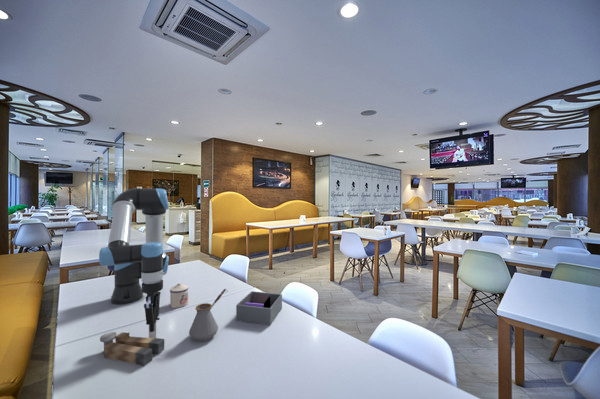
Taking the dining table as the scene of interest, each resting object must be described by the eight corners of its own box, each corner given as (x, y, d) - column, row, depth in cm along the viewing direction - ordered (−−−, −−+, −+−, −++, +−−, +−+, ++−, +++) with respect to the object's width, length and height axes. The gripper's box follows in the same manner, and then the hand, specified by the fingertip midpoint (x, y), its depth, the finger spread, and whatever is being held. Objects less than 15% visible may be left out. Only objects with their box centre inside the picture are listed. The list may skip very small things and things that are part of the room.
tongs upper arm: (96, 354, 93) (96, 338, 93) (110, 344, 99) (110, 330, 99) (153, 359, 90) (153, 343, 90) (164, 349, 96) (164, 334, 96)
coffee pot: (205, 347, 98) (205, 309, 97) (182, 341, 102) (182, 305, 101) (236, 321, 118) (236, 289, 118) (216, 317, 122) (216, 286, 121)
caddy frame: (236, 320, 118) (236, 305, 118) (251, 304, 135) (251, 291, 135) (270, 325, 114) (270, 309, 114) (282, 308, 131) (282, 294, 131)
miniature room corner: (265, 319, 120) (265, 305, 120) (242, 317, 122) (242, 303, 122) (273, 308, 132) (273, 295, 131) (251, 306, 134) (251, 293, 134)
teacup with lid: (182, 308, 130) (182, 286, 130) (166, 307, 131) (165, 285, 131) (194, 299, 142) (194, 279, 142) (179, 298, 143) (179, 278, 143)
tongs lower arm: (96, 356, 92) (95, 344, 92) (109, 348, 97) (109, 336, 97) (144, 366, 87) (144, 353, 87) (156, 356, 92) (156, 344, 92)
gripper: (157, 285, 96) (158, 345, 97) (166, 274, 109) (167, 328, 110) (135, 287, 95) (136, 348, 95) (147, 276, 107) (148, 330, 108)
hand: (153, 337), depth 102 cm, fingers closed
